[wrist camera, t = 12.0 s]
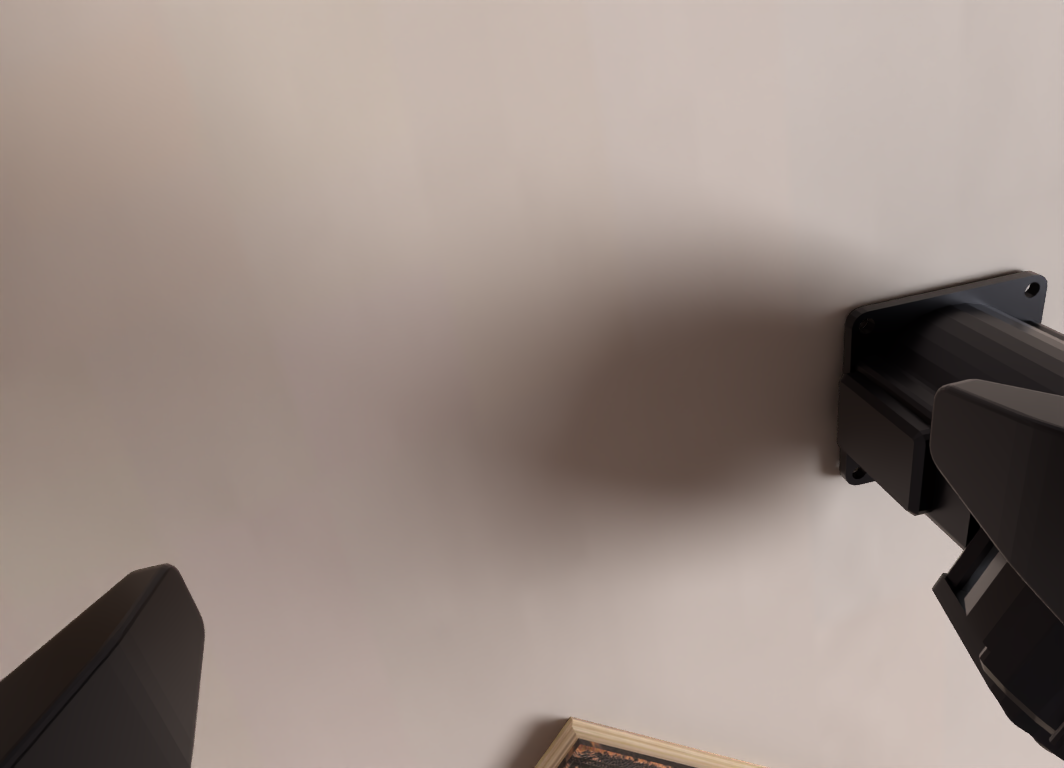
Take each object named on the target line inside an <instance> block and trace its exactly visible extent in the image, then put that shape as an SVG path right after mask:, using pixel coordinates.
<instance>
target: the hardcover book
mask: <svg viewBox="0 0 1064 768" xmlns="http://www.w3.org/2000/svg"><path fill="white" fill-rule="evenodd" d="M534 768H768V767H764V766H760V765H756V764H753V763H749V762H745V761H741V760H737V759H733V758H729V757H725V756H721V755H718V754H714V753H710V752H706V751H702V750H698V749H694V748H690V747H686V746H683V745H679V744H675V743H671V742H667V741H663V740H659V739H655V738H651V737H648V736H644V735H640V734H636V733H632V732H628V731H624V730H620V729H616V728H613V727H609V726H605V725H601V724H597V723H593V722H589V721H585V720H581V719H578V718H574V717H570V718H569V720H568V721H567V723H566V724H565V725H564V727H563V728H562V730H561V731H560V732H559V734H558V735H557V737H556V738H555V739H554V741H553V742H552V744H551V745H550V746H549V748H548V749H547V751H546V752H545V753H544V755H543V756H542V758H541V759H540V760H539V762H538V763H537V765H536V766H535V767H534Z"/></svg>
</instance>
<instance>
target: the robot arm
mask: <svg viewBox="0 0 1064 768" xmlns="http://www.w3.org/2000/svg"><path fill="white" fill-rule="evenodd" d="M1029 284H1030V287H1029V289H1028V290H1027V291H1026V292H1025V290H1026V288H1027V286H1028V285H1029ZM1046 291H1047V280H1046V279H1045V277H1043V276H1041V275H1039V274H1037V273H1034V272H1032V271H1024V272H1019V273H1015V274H1010V275H1005V276H1001V277H996V278H992V279H987V280H982V281H978V282H973V283H969V284H964V285H959V286H955V287H950V288H946V289H941V290H936V291H932V292H927V293H923V294H918V295H913V296H909V297H904V298H900V299H895V300H891V301H886V302H881V303H877V304H872V305H868V306H863V307H859V308H857V309H855V310H854V311H852V312H851V313H850V314H849V316H848V317H847V319H846V322H845V336H844V362H843V375H842V377H841V379H840V381H839V400H838V428H837V444H838V446H839V447H840V466H839V471H840V475H841V476H842V477H843V478H844V479H845V480H846V481H847V482H848V483H849V484H851V485H860V484H865V483H869V482H873V481H876V482H877V483H878V484H879V485H880V486H881V487H882V488H883V489H884V490H885V491H886V492H887V493H888V494H889V495H891V496H892V497H893V498H894V499H895V500H896V501H897V502H898V503H899V504H900V505H901V506H902V507H903V508H904V509H905V510H906V511H908V512H909V513H911V514H913V515H914V516H917V515H921V514H925V515H927V516H928V517H929V518H930V519H931V520H932V521H933V522H934V523H935V524H936V525H937V526H938V527H939V528H940V529H942V530H943V531H944V532H945V533H946V534H947V535H948V536H949V537H950V538H951V539H952V540H953V541H954V542H955V543H957V544H958V545H959V546H960V547H961V548H962V549H963V550H964V551H963V552H962V553H961V555H960V556H959V558H958V559H957V560H956V562H955V563H954V565H953V566H952V568H951V569H950V570H949V572H948V573H943V574H942V575H941V576H940V578H939V579H938V581H937V582H936V583H935V585H934V586H933V588H932V590H933V592H934V594H935V595H936V597H937V599H938V601H939V602H940V604H941V606H942V607H943V609H944V611H945V613H946V614H947V616H948V618H949V620H950V621H951V623H952V625H953V626H954V628H955V630H956V632H957V633H958V635H959V637H960V639H961V640H962V642H963V644H964V646H965V647H966V649H967V651H968V652H969V654H970V656H971V658H972V659H973V661H974V663H975V665H976V666H977V668H978V670H979V671H980V673H981V675H982V677H983V678H984V680H985V682H986V684H987V685H988V687H989V689H990V690H991V692H992V693H993V695H994V696H995V697H996V699H997V700H998V702H999V704H1000V705H1001V707H1002V709H1003V710H1004V712H1005V714H1006V715H1007V717H1008V718H1009V719H1010V720H1011V721H1012V722H1013V723H1014V724H1015V725H1016V726H1018V727H1019V728H1021V729H1022V730H1024V731H1025V732H1027V733H1029V734H1030V735H1031V736H1032V737H1033V738H1034V739H1035V741H1036V742H1037V743H1038V744H1039V745H1040V746H1042V747H1043V748H1044V749H1046V750H1047V751H1049V752H1051V753H1053V754H1055V755H1056V756H1058V757H1059V758H1061V759H1062V760H1064V334H1062V333H1060V332H1057V331H1055V330H1053V329H1051V328H1049V327H1047V326H1045V325H1042V324H1041V320H1042V314H1043V309H1044V303H1045V297H1046ZM866 319H868V321H867V324H866V325H865V326H864V327H863V328H861V329H859V327H860V324H861V323H862V322H863V321H864V320H866ZM858 467H859V469H858V470H857V471H856V472H854V473H853V471H854V470H855V469H856V468H858ZM204 640H205V630H204V624H203V620H202V617H201V615H200V612H199V610H198V608H197V606H196V604H195V602H194V600H193V598H192V596H191V594H190V592H189V590H188V588H187V586H186V584H185V582H184V580H183V578H182V576H181V574H180V572H179V571H178V569H177V568H176V567H175V566H173V565H170V564H168V563H167V564H161V565H157V566H152V567H148V568H143V569H139V570H135V571H133V572H131V573H129V574H128V575H127V576H126V577H124V578H123V579H122V580H121V581H120V582H118V583H117V584H116V585H115V586H114V587H113V588H111V589H110V590H109V591H108V592H107V593H105V594H104V595H103V596H102V597H101V598H99V599H98V600H97V601H96V602H95V603H93V604H92V605H91V606H90V607H89V608H87V609H86V610H85V611H84V612H83V613H82V614H80V615H79V616H78V617H77V618H76V619H74V620H73V621H72V622H71V623H70V624H68V625H67V626H66V627H65V628H64V629H62V630H61V631H60V632H59V633H58V634H56V635H55V636H54V637H53V638H52V639H51V640H49V641H48V642H47V643H46V644H45V645H43V646H42V647H41V648H40V649H39V650H37V651H36V652H35V653H34V654H33V655H31V656H30V657H29V658H28V659H27V660H26V661H24V662H23V663H22V664H21V665H20V666H18V667H17V668H16V669H15V670H14V671H12V672H11V673H10V674H9V675H8V676H6V677H5V678H4V679H3V680H2V681H0V768H191V762H192V755H193V747H194V738H195V728H196V718H197V709H198V699H199V689H200V679H201V670H202V660H203V650H204Z"/></svg>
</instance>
